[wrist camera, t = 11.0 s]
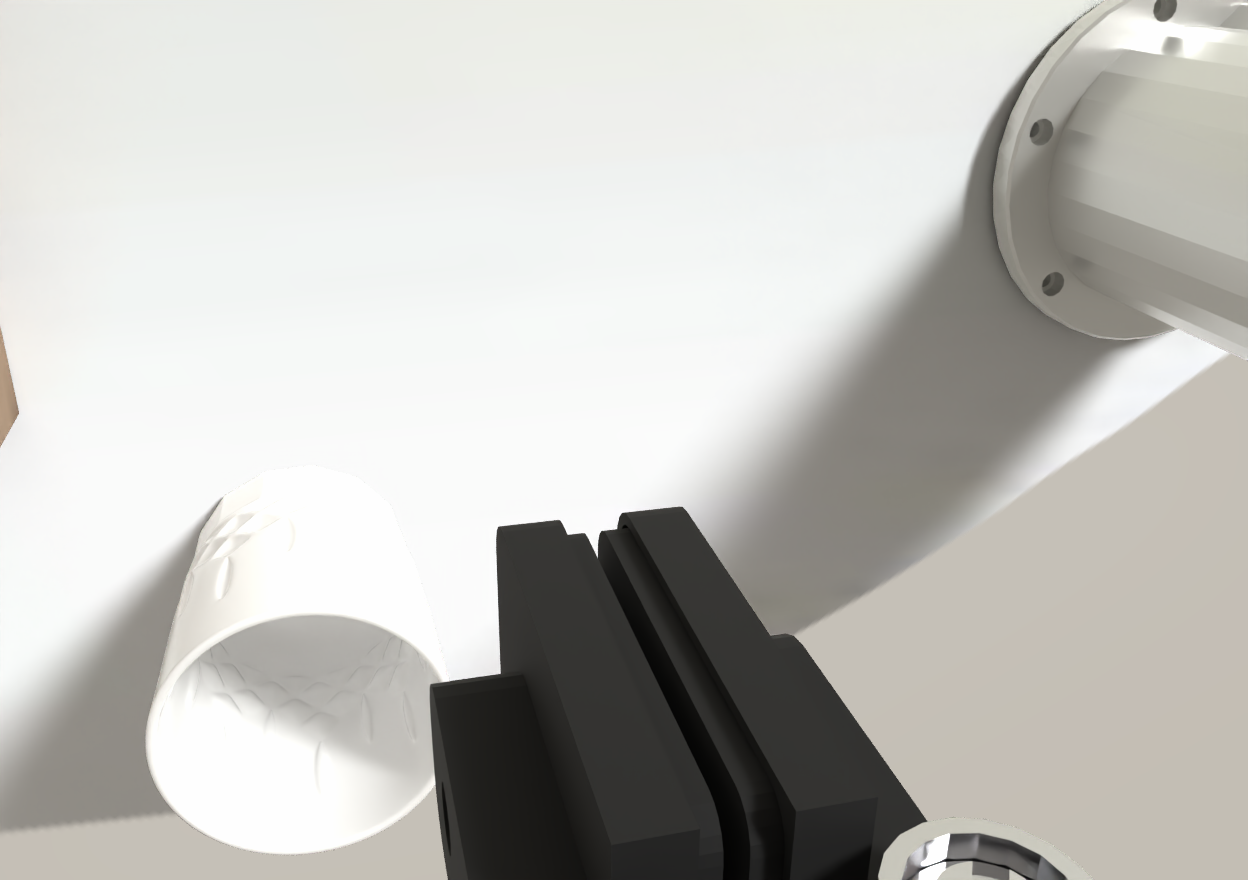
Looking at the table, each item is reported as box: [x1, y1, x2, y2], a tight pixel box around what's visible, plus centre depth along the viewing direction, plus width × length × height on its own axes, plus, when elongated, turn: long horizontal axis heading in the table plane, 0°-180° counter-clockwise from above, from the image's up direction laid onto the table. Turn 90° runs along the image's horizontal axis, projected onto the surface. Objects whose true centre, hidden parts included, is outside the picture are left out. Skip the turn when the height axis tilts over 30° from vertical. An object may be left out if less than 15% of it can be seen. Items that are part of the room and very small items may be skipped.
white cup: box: [145, 465, 450, 855], centre depth 35 cm, size 8×8×10 cm
